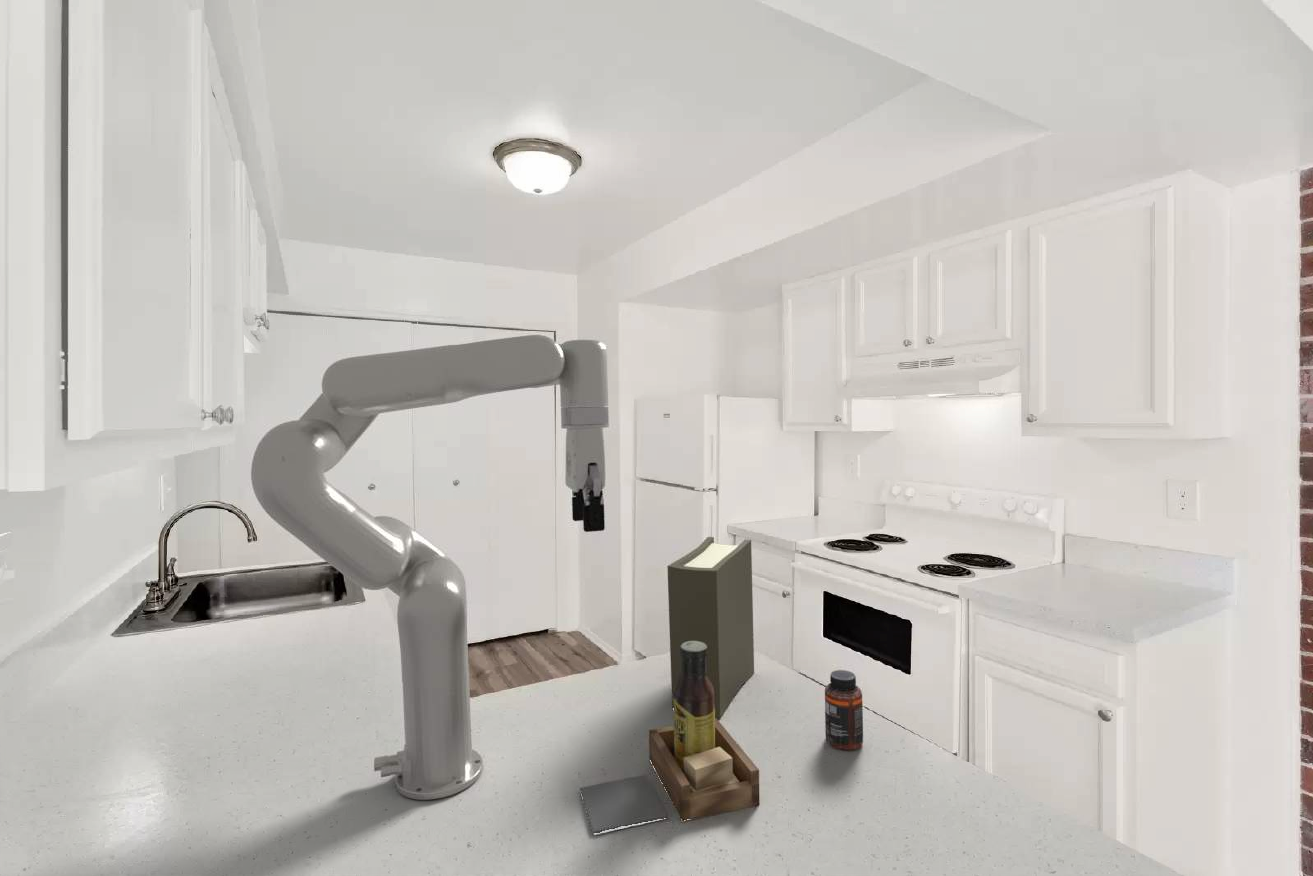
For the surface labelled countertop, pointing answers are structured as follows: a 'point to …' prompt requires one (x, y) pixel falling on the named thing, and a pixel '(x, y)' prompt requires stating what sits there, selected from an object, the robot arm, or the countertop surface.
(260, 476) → the robot arm
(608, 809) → the mat
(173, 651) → the countertop surface
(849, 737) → the supplement bottle
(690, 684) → the sauce bottle
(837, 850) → the countertop surface
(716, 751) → the offcut top
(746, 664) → the book
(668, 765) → the tray
